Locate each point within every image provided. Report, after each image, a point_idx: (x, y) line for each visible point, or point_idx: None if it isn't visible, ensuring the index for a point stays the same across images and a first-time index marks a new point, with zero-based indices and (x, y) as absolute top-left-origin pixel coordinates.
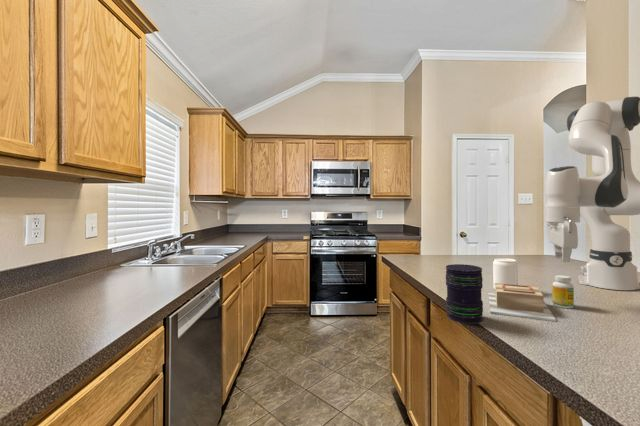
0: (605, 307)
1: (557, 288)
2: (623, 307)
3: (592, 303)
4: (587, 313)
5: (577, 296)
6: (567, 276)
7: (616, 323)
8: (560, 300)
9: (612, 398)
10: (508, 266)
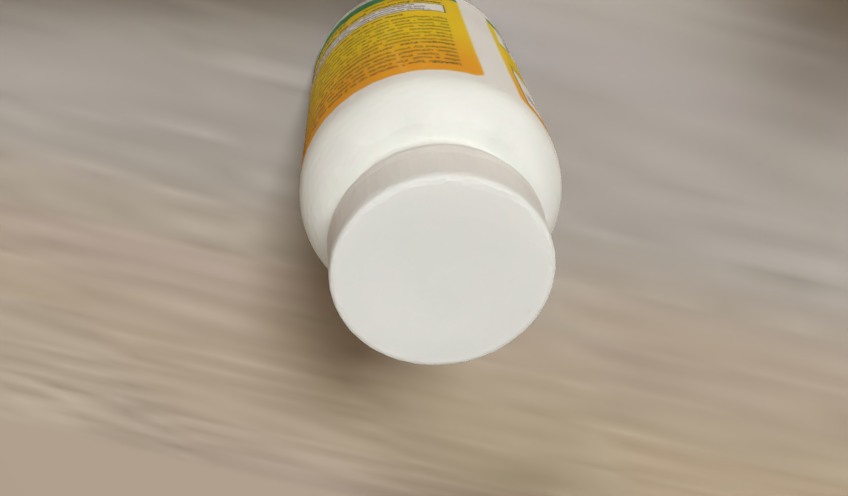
0: (487, 393)
1: (337, 101)
2: (528, 489)
3: (593, 343)
4: (217, 225)
5: (826, 296)
6: (467, 339)
7: (14, 342)
8: (322, 67)
9: None
10: None
